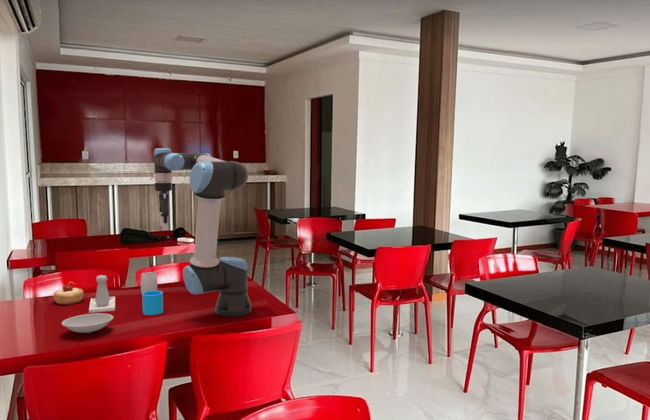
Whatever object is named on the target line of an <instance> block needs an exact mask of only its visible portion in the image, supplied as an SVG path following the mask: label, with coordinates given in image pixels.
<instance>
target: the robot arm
mask: <svg viewBox="0 0 650 420" xmlns="http://www.w3.org/2000/svg"><path fill="white" fill-rule="evenodd" d="M153 151H154V152H153V163H154V165H153V166H154V174H153V175H152V176H153V178H154V191H156V192H159V194H158V203H159V208H158V210H159V226H160V227H161V230H162V231H169V226H170V225H169V194H168V193H167V192H171V191H172V190H173V183H172V181H173V174H172V172H173V171H175V172H176V171H190V174H189V181H188V182H189V187H190V189H191V191H192V192H193V193H194V197H195V198H196V199H197V212H196V223H195V225H196V227H195V238H194V251H193V253H194V254H193V256H192V257H191V258H190V259H189V265H186V266H184V268H183V270H182V277H183V281H184V282H183V283H184V285H185V288H186V289H187V291H188V292H189V293H190V294H192V295H200V294H201V295H202V294H206V293H211V292H216V291H217V292H218V291H219V295H218V297H217V301H216V304H215V306H214V307H215V308H214V309H215V310H214V311H215V314H216V315H217V316H221V317H228V318H229V317H230V318H233V317H234V318H235V317H236V318H237V317H242V316H246V315H248V314H250V313H251V312H252V302H251V300H250V297H249V295H248V270H249V269H248V262H247V261H246V259H244V258H241V257H236V256H235V257H234V256H221V257H219V259H218V257H217V247H218V236H219V225H220V223H219V222H220V215H221V213H220V211H221V201H222V200H224V199H225V198H226V192H231V191H232V192H234V191H237V190H241V188H243V187H244V186H245V185H246V184H247V182H248V180H249V171H248V168H247V167H246V166H245V164H243V163H241V162H238V161H234V160H230V161H229V160H228V161H227V160H222V159H219V158H215V157H213V156H212V155H211V154H210V153H206V152H200V153H199V152H198V153H196V152H195V153H192V152H191V153H190V152H189V153H187V152H172V149H171V148H169V147H168V148H167V147H166V148H163V147H162V148H161V147H160V148H159V147H158V148H155V149H154V150H153Z"/></svg>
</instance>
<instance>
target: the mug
mask: <svg viewBox="0 0 650 420" xmlns="http://www.w3.org/2000/svg"><path fill="white" fill-rule="evenodd" d="M141 295H142V300H141V301H142V313H143V315H146V316H154V315H160V314H162V313H164V292H163V291H162V290H157V291H147V292H144V293H143V294H141Z"/></svg>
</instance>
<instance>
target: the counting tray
mask: <svg viewBox="0 0 650 420" xmlns="http://www.w3.org/2000/svg"><path fill="white" fill-rule="evenodd" d="M109 297H110V301H109V303H108V305H107V306H102V307H101V306H98V305H97V303H96V302H95V298H96V297H94V298H92V297H91V298H90V301H89V306H88V307H89V308H88V314H96V313H104V312H105V313H107V312H115V311H116V296H109Z"/></svg>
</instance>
